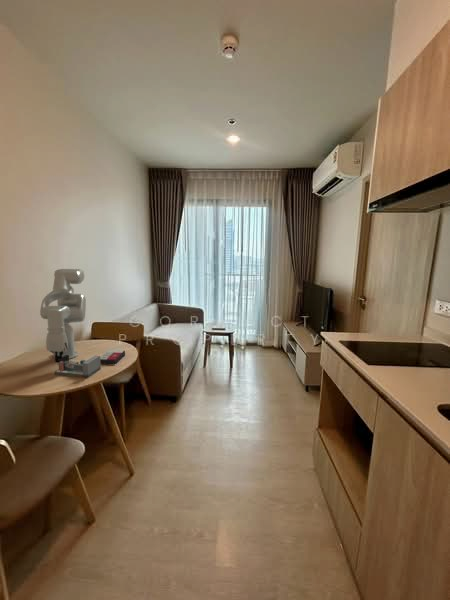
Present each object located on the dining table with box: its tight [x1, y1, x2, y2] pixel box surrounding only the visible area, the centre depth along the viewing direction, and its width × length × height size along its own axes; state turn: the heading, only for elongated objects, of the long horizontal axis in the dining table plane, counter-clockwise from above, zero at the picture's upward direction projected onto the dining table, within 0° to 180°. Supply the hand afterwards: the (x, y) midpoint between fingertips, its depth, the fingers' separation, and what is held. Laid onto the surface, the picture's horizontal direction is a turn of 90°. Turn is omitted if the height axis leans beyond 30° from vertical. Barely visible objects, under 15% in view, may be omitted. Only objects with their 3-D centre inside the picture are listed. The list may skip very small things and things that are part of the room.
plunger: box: [57, 355, 80, 369], centre depth 144 cm, size 8×8×6 cm
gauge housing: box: [54, 355, 102, 378], centre depth 145 cm, size 20×11×8 cm, turn 82°
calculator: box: [100, 349, 126, 365], centre depth 163 cm, size 11×4×15 cm
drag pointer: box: [58, 361, 64, 371], centre depth 141 cm, size 1×2×5 cm, turn 172°
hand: (58, 361), depth 146 cm, fingers closed
